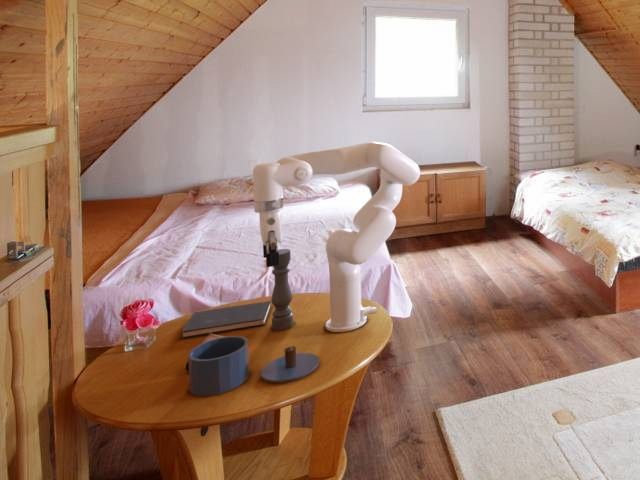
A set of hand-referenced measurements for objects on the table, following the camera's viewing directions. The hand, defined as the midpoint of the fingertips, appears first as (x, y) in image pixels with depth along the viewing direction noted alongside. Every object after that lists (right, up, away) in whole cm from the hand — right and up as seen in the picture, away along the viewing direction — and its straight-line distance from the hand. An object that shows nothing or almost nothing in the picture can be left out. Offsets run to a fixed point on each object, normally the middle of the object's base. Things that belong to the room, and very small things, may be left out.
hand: (271, 261), depth 173 cm
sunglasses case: (-17, -28, -1) cm, 33 cm away
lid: (+11, -27, -10) cm, 31 cm away
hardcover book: (-26, -27, +21) cm, 43 cm away
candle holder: (-6, -27, +17) cm, 33 cm away
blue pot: (-5, -28, -15) cm, 33 cm away
